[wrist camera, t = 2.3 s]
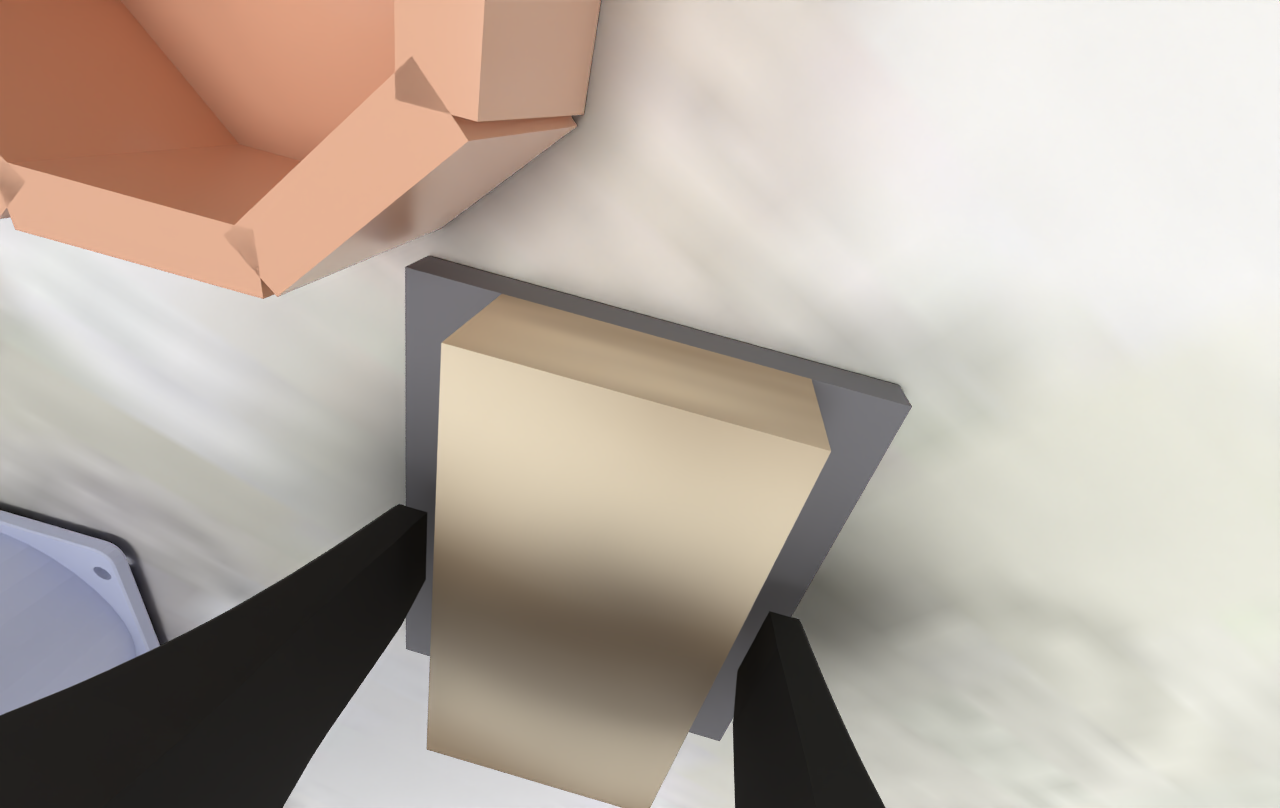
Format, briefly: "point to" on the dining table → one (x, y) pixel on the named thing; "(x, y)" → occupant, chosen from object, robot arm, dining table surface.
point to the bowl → (275, 124)
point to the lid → (599, 540)
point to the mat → (848, 402)
